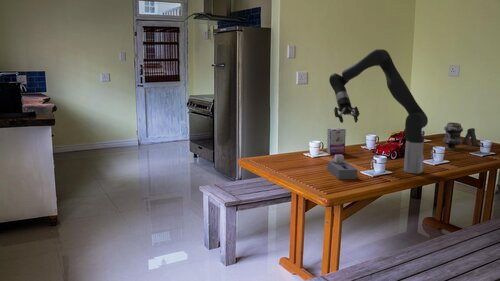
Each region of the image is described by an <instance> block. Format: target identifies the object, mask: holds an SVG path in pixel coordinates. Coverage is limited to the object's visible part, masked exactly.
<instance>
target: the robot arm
mask: <svg viewBox="0 0 500 281" xmlns="http://www.w3.org/2000/svg"><path fill="white" fill-rule="evenodd" d="M376 66H377V67H380V69H381V70H382V71H383V73H384V75H385V80H386V81H385V82H386V86H387V89H388V91H389V92H390V94H391V96H392V97H393V98H394V99H395V100H396V102H397V103H398V104H400V105H401V106H402V107H403V108H404V109H405V111H406V112H407V114H408V115H407V116H406V118H405V124H404V125H405V126H404V127H405V128H404V135H405V150H404V162H403V172H405V173H408V174H419V175H420V174H421V173H422V172H423V169H424V158H425V155H424V146H425V145H424V143H425V136H423V134H422V131H423V128H425V127H427V125H428V123H429V120H428V116H427V114H426V113H425V111H424V110H423V109H422V107H420V105H419V104H418V102H417V101H416V99H415V97H414V95H413V94H412V92H411V90H410V89H409V87H408V85H407V83H406V82H405V81H404V79H403V77H402V76H401V74H400V72H399V71H398V70H397V67H396V66H395V64H394V61H393V59H392V56H391V54H390V53H389V52H388V51H387V50H386V49H378V48H377V49H374V50H372V51H370V53H368V54H367V55H365V56H364V57H363V58H362V59H361V60H359V61H358V62H357V63H354V64H352V65H351V66H349V67H347V68H345V69H344V70H343V71H342V72H341V75H340V74H338V73H336V72H335V73H332V74H330V76H329V84H330V86H331V88H332V90H333V91H334V95H335V100H336V103H337V106H335V107H334V109H333V111H334V112H333V113H334V117H335V118H338V119H339V122H340V123H341V124H343V123H344V118H343V115H344V116H346V115H348V116H349V115H350V116H351V117H353V120H354V123H357V122H358V121H359V118H358V117H359V116H360V111H359V108H358V107H357V106H354V107H353V106H352V103H351V100H350V96H349V94H348V92H347V88H346V86H345V85H347V83H349V82H350V81H351V80H353V79H355V78H357V77H358V76H359V75H361V74H362V73H363V72H364V71H366V70H367V69H369V68H372V67H376ZM339 112H340V113H339Z"/></svg>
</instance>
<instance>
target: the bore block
mask: <svg viewBox="0 0 500 281" xmlns="http://www.w3.org/2000/svg"><path fill="white" fill-rule="evenodd" d="M326 165H327V166H326V167H327V168H326V169H327V171H328V172H330V174H332V175H333V176H334V177H336V179H337V180H355V179H358V169H357V168H356V167H354V166H353V165H351V164H350V163H349V162H348V161H346V160H344V162H343V164H335V163H334V160H327V164H326Z"/></svg>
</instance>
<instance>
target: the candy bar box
mask: <svg viewBox="0 0 500 281" xmlns="http://www.w3.org/2000/svg"><path fill="white" fill-rule="evenodd" d="M346 133H347V132H346V129H345V128H343V127H342V128H340V127H339V128H328V129H327V132H326V134H327V139H326V142H327V143H326V144H327V145H326V154H328V153H329V154H328V155H337V154H342V155H343V154H346Z"/></svg>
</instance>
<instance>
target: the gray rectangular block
mask: <svg viewBox="0 0 500 281" xmlns="http://www.w3.org/2000/svg"><path fill="white" fill-rule="evenodd" d="M344 157H345V155H343V153H342V154H334V158H333V159H334V160H333V161H334V163H335V164H343V162H344Z"/></svg>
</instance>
